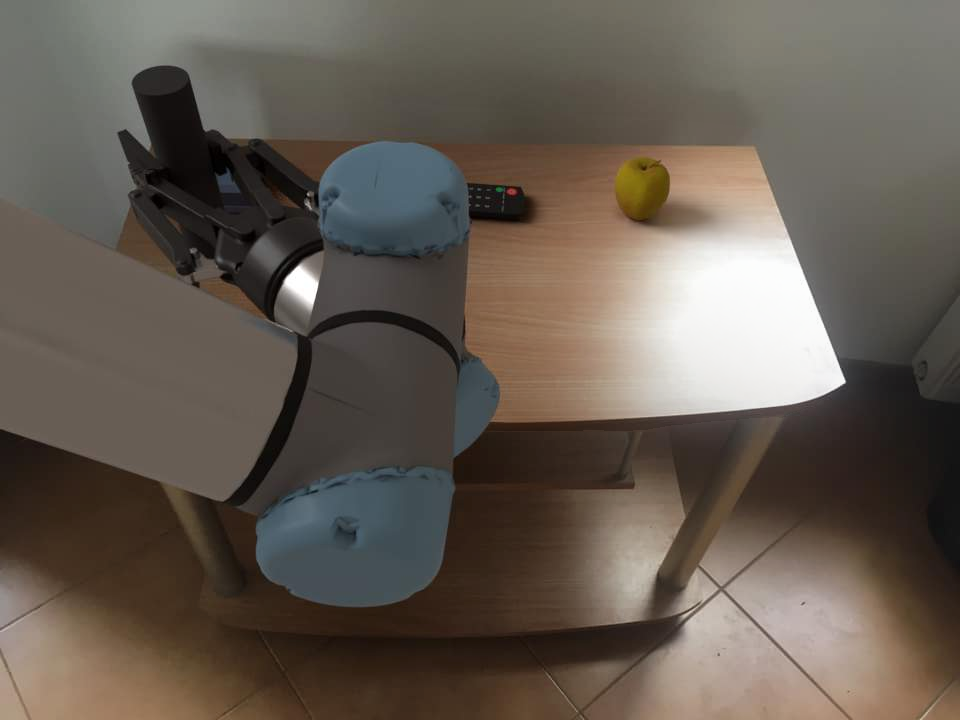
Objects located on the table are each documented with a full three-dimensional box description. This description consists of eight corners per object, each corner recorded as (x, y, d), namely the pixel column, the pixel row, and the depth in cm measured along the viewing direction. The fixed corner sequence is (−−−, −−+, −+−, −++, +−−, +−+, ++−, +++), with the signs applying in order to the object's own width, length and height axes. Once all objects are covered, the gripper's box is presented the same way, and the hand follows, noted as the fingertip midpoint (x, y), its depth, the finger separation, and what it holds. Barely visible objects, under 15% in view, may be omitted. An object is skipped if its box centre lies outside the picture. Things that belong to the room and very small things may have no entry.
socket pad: (173, 212, 93) (166, 191, 91) (190, 164, 99) (184, 144, 97) (251, 213, 94) (246, 193, 91) (264, 166, 100) (259, 146, 97)
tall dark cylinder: (181, 260, 68) (123, 93, 55) (193, 229, 70) (141, 63, 58) (227, 262, 68) (180, 96, 55) (238, 231, 70) (195, 66, 58)
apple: (672, 218, 96) (688, 164, 90) (633, 236, 94) (646, 182, 87) (638, 190, 99) (651, 136, 93) (599, 207, 97) (609, 152, 91)
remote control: (333, 181, 98) (332, 172, 97) (524, 195, 98) (525, 187, 97) (325, 209, 95) (323, 200, 94) (523, 223, 94) (524, 214, 93)
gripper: (218, 386, 53) (68, 212, 64) (414, 273, 61) (251, 135, 71) (191, 310, 47) (32, 133, 58) (411, 196, 55) (235, 58, 66)
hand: (153, 134), depth 65 cm, fingers closed on tall dark cylinder, 4 cm apart
